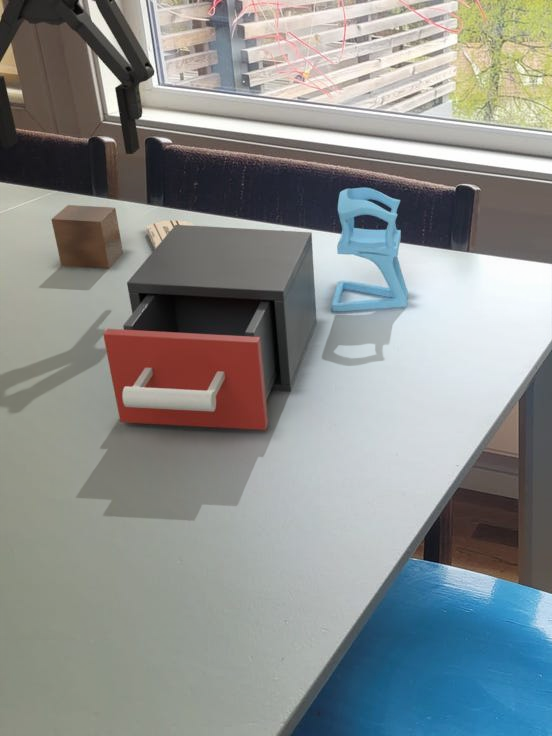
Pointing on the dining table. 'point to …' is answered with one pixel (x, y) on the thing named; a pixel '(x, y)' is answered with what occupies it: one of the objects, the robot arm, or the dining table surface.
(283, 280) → the grey drawer unit
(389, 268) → the chair
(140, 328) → the red drawer
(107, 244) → the walnut block
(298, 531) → the dining table surface
